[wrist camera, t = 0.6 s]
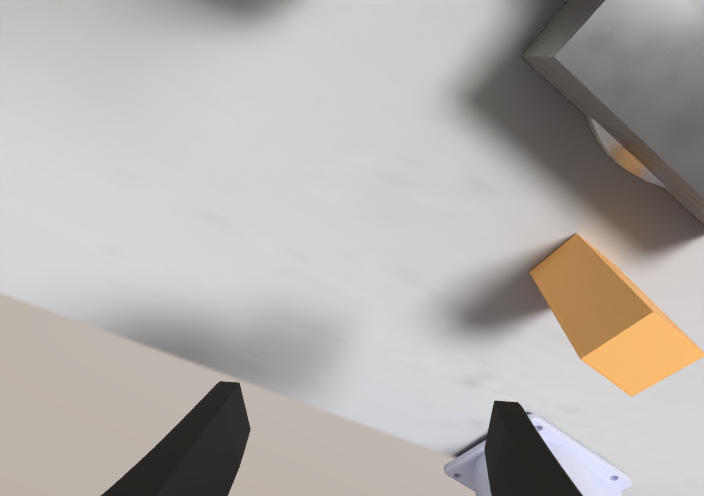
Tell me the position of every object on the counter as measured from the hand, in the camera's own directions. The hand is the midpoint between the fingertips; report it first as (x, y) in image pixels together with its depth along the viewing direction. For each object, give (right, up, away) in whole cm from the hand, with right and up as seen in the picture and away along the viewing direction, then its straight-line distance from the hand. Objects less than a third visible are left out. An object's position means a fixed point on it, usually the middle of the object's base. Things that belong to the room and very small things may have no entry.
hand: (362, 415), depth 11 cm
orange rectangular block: (+11, +4, +8) cm, 14 cm away
